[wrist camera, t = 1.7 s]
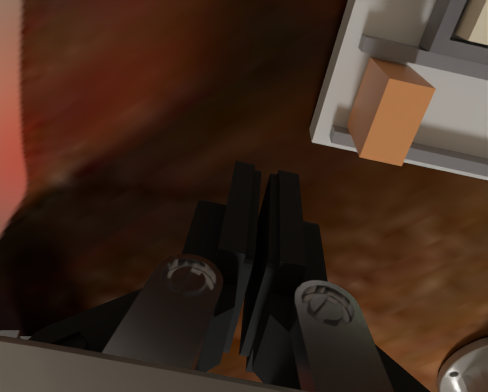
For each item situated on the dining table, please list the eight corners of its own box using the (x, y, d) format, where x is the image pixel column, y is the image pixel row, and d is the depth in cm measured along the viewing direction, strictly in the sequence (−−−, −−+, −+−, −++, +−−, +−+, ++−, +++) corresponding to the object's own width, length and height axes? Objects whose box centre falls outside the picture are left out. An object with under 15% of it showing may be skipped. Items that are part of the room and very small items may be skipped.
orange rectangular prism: (408, 65, 25) (435, 88, 21) (381, 132, 27) (401, 166, 23) (370, 56, 25) (389, 78, 21) (346, 124, 27) (359, 157, 23)
